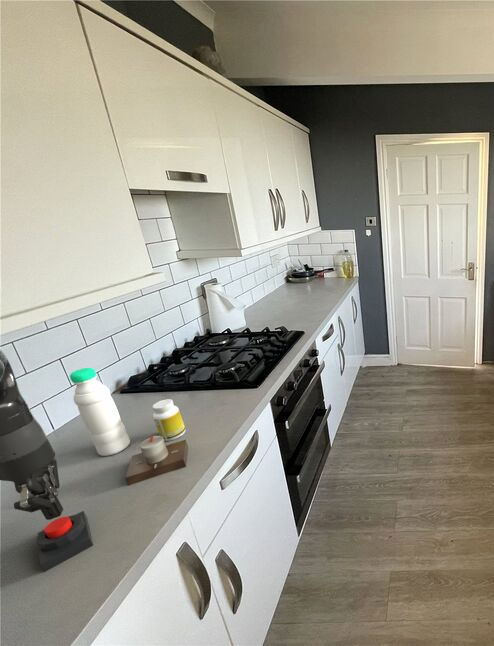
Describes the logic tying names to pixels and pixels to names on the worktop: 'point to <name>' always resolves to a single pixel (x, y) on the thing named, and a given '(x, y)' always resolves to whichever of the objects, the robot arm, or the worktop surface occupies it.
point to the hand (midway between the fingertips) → (55, 515)
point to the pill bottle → (168, 420)
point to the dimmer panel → (145, 471)
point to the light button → (58, 527)
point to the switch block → (65, 543)
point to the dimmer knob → (154, 449)
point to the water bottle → (99, 413)
